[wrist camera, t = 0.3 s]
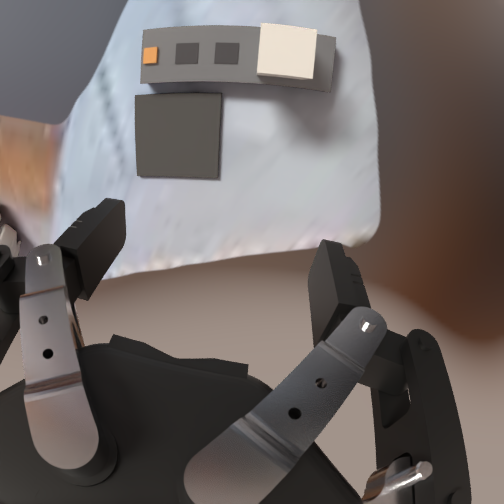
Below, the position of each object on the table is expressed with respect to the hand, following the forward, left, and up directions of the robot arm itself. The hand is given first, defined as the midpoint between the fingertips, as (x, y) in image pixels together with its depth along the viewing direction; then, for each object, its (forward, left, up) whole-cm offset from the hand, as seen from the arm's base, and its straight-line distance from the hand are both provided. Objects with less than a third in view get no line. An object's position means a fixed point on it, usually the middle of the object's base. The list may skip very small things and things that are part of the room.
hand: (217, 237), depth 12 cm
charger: (-9, +4, -27) cm, 29 cm away
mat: (+1, -8, -27) cm, 29 cm away
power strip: (-9, -1, -27) cm, 29 cm away
